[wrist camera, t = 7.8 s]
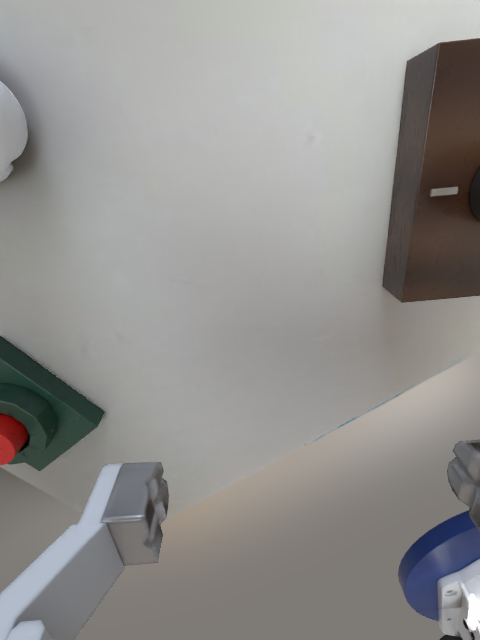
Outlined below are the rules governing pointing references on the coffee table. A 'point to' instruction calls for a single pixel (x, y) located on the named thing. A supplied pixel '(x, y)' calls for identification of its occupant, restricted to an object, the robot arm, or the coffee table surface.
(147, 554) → the robot arm
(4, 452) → the button
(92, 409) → the button box
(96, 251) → the coffee table surface
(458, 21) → the coffee table surface
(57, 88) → the coffee table surface
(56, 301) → the coffee table surface
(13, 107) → the water bottle
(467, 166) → the panel
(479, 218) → the knob
